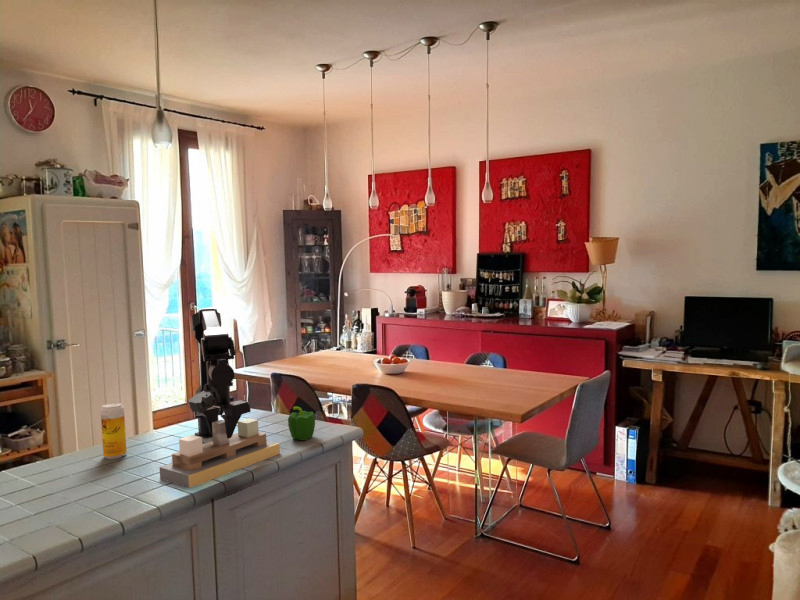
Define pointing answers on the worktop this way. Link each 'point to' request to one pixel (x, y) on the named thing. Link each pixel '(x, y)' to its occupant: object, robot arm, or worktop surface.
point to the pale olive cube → (248, 427)
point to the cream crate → (190, 445)
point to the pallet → (218, 447)
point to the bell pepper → (301, 424)
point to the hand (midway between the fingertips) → (221, 436)
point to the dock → (219, 465)
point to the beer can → (113, 430)
